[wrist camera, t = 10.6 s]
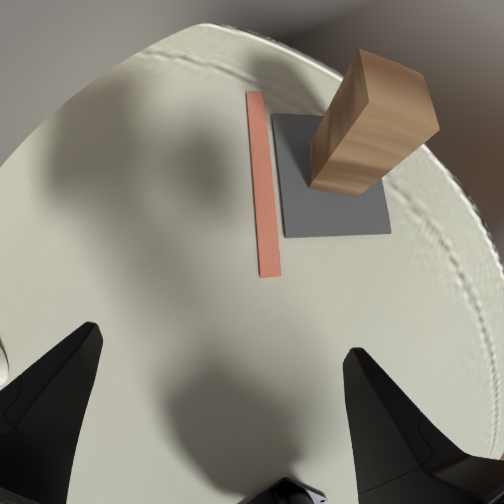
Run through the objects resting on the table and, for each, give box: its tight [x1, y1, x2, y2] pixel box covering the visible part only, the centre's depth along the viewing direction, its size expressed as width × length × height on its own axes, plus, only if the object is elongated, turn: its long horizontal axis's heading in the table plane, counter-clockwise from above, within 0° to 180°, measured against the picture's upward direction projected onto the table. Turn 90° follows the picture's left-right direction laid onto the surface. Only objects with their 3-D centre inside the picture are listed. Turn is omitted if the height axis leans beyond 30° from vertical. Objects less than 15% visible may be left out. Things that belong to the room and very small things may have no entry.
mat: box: [272, 114, 391, 238], centre depth 23 cm, size 12×10×1 cm
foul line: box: [246, 92, 281, 277], centre depth 23 cm, size 18×2×1 cm, turn 4°
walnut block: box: [308, 49, 439, 197], centre depth 17 cm, size 5×5×12 cm
